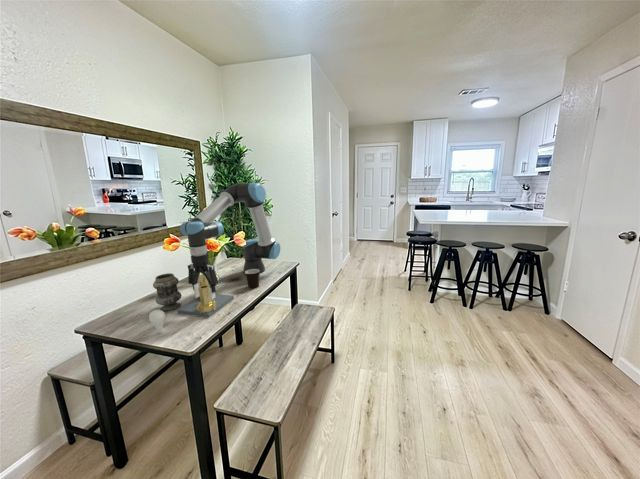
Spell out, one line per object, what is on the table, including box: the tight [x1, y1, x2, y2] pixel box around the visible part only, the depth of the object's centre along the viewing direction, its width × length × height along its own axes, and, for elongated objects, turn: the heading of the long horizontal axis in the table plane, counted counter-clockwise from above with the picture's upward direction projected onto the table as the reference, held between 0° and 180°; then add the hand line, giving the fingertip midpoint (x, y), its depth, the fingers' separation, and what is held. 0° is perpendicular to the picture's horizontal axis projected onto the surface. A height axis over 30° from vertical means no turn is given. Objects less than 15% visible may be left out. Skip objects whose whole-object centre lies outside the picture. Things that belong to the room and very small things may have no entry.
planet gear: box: [197, 285, 217, 313], centre depth 137 cm, size 9×9×12 cm
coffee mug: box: [244, 269, 260, 290], centre depth 170 cm, size 12×9×10 cm
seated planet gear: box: [197, 274, 210, 299], centre depth 152 cm, size 9×9×12 cm
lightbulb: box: [148, 309, 166, 334], centre depth 121 cm, size 6×6×11 cm
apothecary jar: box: [152, 272, 182, 313], centre depth 144 cm, size 12×12×18 cm
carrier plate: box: [176, 293, 235, 319], centre depth 145 cm, size 21×19×9 cm
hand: (205, 297), depth 137 cm, fingers open, 8 cm apart
